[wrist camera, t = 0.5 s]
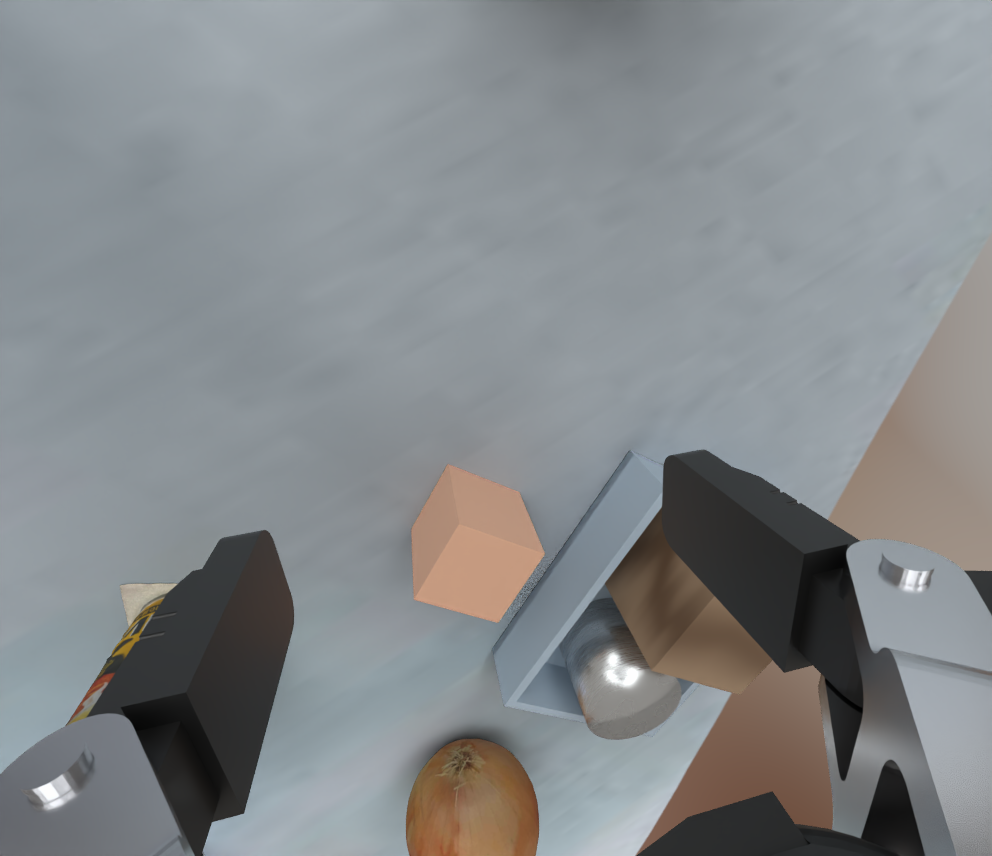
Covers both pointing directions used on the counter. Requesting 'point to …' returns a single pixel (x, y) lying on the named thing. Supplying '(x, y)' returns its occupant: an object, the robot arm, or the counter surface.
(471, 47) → the counter surface
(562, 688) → the tote
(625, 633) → the grey tin
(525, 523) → the peach rectangular block
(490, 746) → the onion
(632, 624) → the walnut block
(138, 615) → the condiment
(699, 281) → the counter surface
